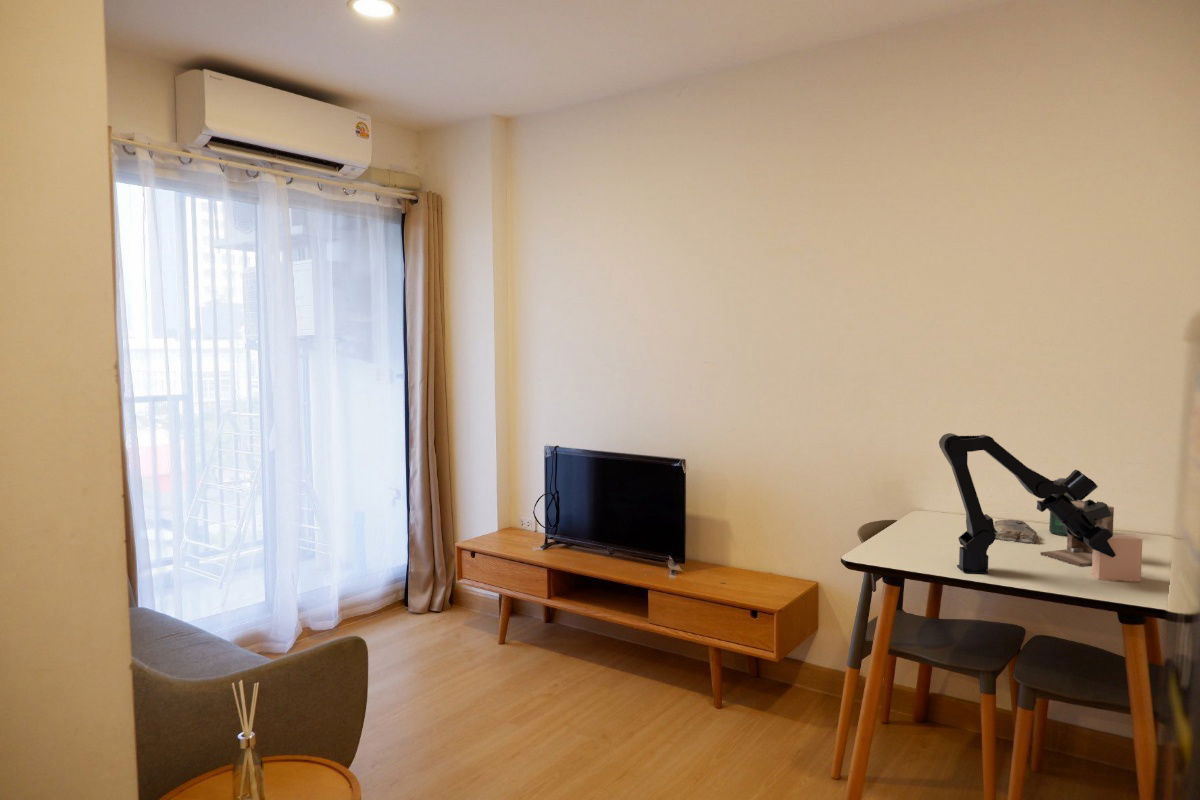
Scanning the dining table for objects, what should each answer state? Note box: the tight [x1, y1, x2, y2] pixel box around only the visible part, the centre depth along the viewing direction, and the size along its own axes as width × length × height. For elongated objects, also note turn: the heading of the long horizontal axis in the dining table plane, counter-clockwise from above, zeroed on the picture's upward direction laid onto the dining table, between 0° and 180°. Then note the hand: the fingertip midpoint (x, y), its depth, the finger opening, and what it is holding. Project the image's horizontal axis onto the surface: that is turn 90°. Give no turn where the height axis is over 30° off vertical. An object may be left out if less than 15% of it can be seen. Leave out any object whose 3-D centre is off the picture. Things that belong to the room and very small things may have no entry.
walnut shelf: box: [1040, 500, 1115, 567], centre depth 222 cm, size 14×13×16 cm
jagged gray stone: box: [993, 519, 1039, 545], centre depth 251 cm, size 14×5×20 cm
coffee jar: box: [1048, 477, 1079, 536], centre depth 253 cm, size 10×8×19 cm
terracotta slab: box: [1091, 534, 1143, 582], centre depth 203 cm, size 10×4×12 cm, turn 78°
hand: (1110, 553), depth 203 cm, fingers closed on terracotta slab, 4 cm apart
